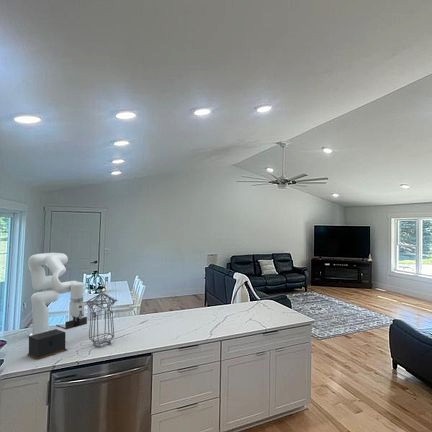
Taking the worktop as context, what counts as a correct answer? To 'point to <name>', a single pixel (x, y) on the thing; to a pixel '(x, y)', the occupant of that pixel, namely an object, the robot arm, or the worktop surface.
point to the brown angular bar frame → (73, 323)
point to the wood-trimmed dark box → (46, 344)
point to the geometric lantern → (101, 314)
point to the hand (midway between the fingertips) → (76, 326)
